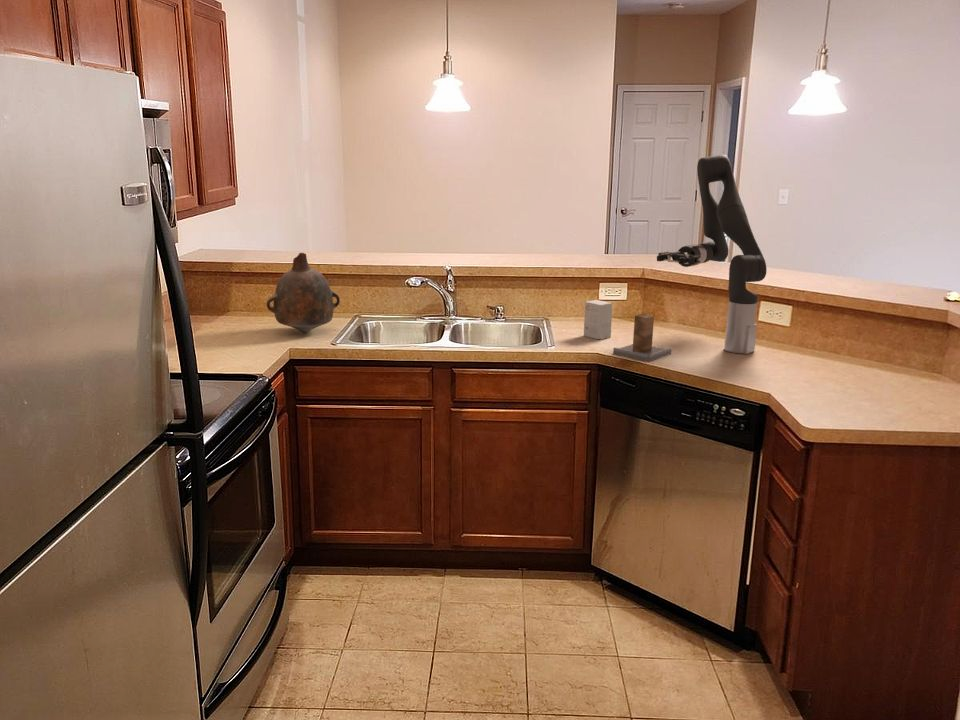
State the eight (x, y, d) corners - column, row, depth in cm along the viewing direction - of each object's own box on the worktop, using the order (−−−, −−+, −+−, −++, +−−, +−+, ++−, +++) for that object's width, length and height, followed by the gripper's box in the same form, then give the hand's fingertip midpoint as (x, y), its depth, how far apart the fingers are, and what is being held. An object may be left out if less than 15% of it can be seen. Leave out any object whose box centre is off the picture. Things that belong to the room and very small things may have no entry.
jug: (310, 322, 307) (307, 245, 299) (349, 330, 295) (346, 250, 287) (259, 334, 288) (254, 252, 280) (298, 343, 276) (293, 258, 268)
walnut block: (651, 350, 267) (654, 315, 264) (644, 352, 264) (646, 317, 261) (640, 347, 270) (642, 313, 267) (632, 350, 267) (634, 315, 264)
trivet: (670, 353, 268) (671, 348, 267) (648, 361, 258) (649, 355, 257) (635, 346, 277) (636, 340, 277) (613, 353, 267) (613, 347, 267)
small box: (611, 337, 289) (613, 302, 286) (599, 340, 285) (601, 305, 282) (594, 333, 295) (596, 299, 292) (583, 335, 291) (584, 301, 288)
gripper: (675, 243, 289) (651, 247, 278) (710, 247, 280) (687, 251, 268) (673, 263, 291) (650, 268, 280) (709, 267, 282) (686, 272, 270)
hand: (668, 259), depth 274 cm, fingers open, 8 cm apart
